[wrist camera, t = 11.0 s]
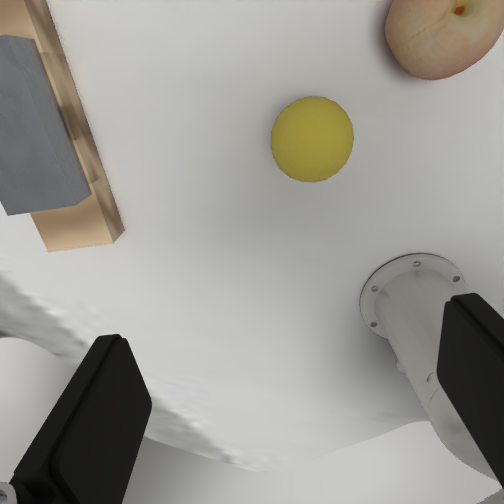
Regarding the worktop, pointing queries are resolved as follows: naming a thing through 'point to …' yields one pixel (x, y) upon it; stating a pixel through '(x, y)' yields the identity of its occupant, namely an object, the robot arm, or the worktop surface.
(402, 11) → the fruit
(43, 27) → the light brown long block
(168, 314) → the worktop surface
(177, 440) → the worktop surface
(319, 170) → the light bulb
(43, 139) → the brushed steel slab
